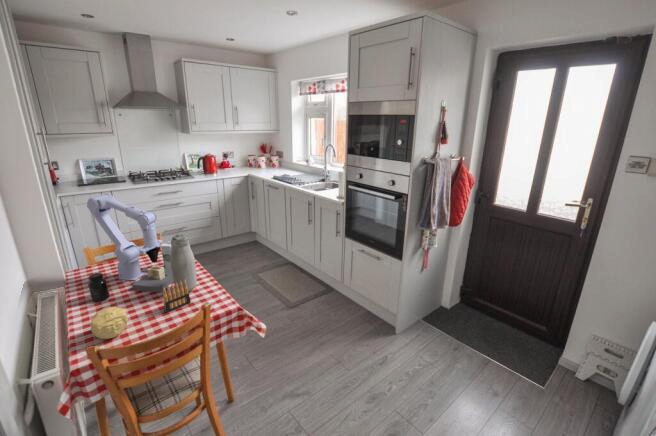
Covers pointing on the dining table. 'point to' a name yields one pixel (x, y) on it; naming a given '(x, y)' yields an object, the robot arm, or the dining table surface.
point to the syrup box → (166, 254)
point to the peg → (156, 273)
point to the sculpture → (109, 322)
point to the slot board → (154, 282)
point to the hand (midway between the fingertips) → (154, 261)
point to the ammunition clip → (175, 297)
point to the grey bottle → (183, 262)
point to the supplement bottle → (98, 287)
